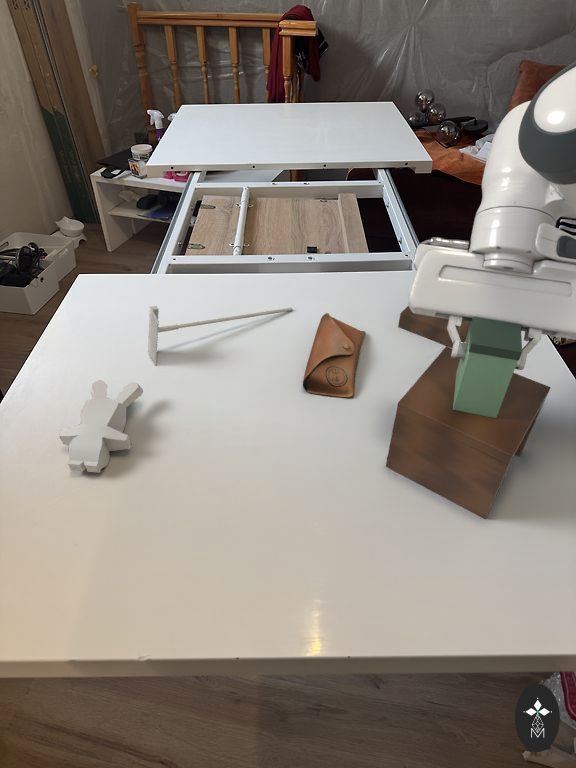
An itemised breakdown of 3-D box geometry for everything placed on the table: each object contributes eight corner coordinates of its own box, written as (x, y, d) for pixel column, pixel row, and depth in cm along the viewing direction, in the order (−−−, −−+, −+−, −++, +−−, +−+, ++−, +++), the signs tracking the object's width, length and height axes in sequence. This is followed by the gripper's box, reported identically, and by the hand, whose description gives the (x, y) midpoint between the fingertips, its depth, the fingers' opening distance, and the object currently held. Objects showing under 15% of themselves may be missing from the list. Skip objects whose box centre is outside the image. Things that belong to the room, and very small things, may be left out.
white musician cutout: (42, 455, 68) (82, 370, 78) (55, 476, 72) (92, 393, 82) (114, 460, 68) (145, 374, 78) (123, 481, 71) (152, 396, 81)
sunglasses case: (356, 397, 82) (337, 366, 78) (316, 409, 85) (296, 379, 81) (366, 330, 95) (350, 300, 91) (332, 342, 98) (314, 314, 95)
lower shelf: (501, 317, 99) (505, 304, 97) (471, 355, 90) (475, 341, 88) (431, 293, 105) (434, 280, 103) (397, 326, 96) (400, 313, 94)
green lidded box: (455, 372, 68) (473, 307, 62) (497, 380, 67) (520, 314, 61) (451, 410, 63) (471, 343, 57) (497, 419, 62) (522, 352, 55)
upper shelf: (522, 450, 74) (551, 387, 66) (485, 519, 66) (512, 455, 58) (430, 408, 81) (446, 345, 73) (385, 466, 72) (397, 402, 64)
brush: (294, 339, 101) (306, 299, 95) (154, 366, 88) (157, 321, 82) (285, 327, 104) (295, 287, 97) (147, 351, 90) (148, 306, 84)
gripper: (419, 225, 61) (396, 343, 60) (614, 250, 56) (590, 377, 56) (417, 243, 67) (396, 350, 66) (593, 267, 63) (571, 382, 62)
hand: (486, 363), depth 61 cm, fingers closed on green lidded box, 5 cm apart
